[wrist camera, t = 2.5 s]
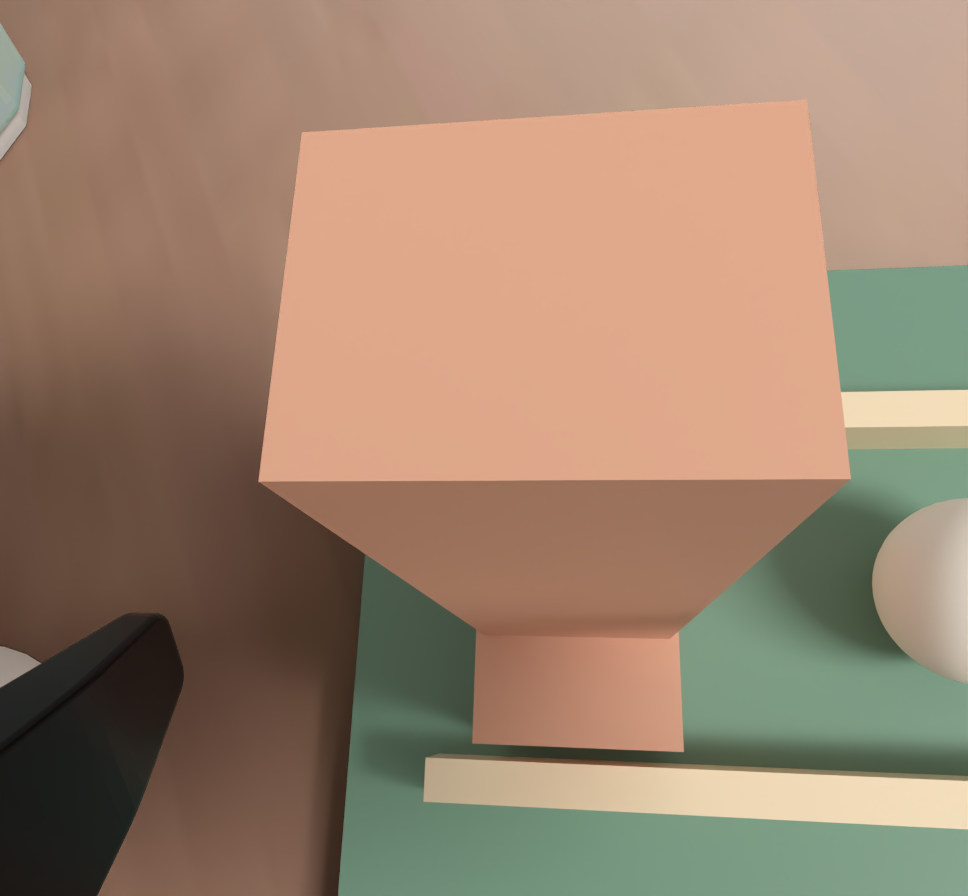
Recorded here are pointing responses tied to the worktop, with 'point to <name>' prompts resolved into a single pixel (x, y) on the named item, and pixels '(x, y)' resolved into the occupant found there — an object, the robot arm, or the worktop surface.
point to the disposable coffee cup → (12, 93)
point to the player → (561, 386)
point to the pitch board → (711, 693)
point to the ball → (927, 587)
